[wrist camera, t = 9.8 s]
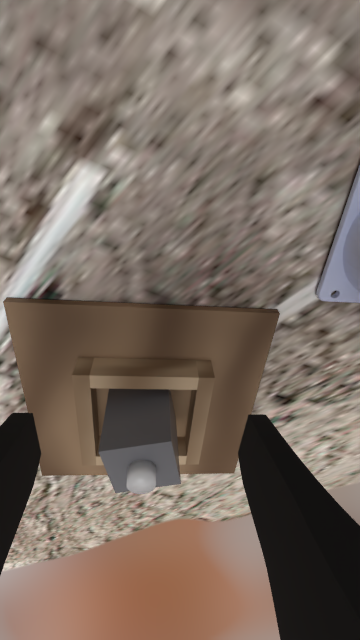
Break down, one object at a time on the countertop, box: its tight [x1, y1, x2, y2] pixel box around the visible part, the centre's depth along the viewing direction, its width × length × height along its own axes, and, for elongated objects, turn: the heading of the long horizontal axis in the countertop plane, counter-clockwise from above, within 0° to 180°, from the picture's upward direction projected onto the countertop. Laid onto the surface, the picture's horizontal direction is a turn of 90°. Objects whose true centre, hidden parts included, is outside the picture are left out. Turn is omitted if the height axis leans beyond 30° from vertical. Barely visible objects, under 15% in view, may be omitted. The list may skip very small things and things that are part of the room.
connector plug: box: [98, 389, 181, 494], centre depth 20 cm, size 4×4×6 cm
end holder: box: [3, 298, 280, 476], centre depth 22 cm, size 16×16×2 cm
